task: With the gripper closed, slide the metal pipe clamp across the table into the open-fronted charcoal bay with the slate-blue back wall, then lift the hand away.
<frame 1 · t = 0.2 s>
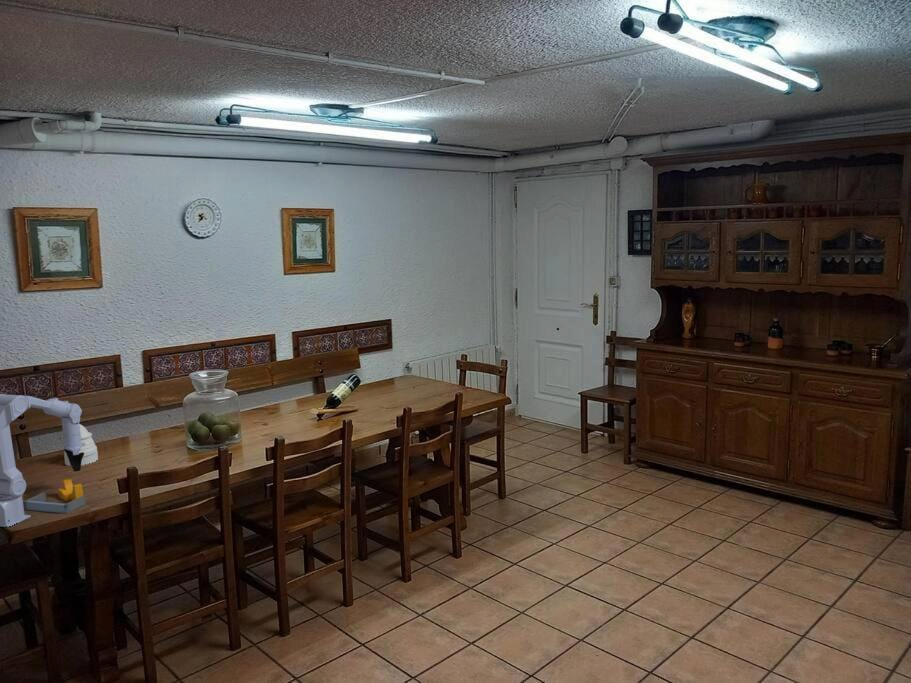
hand: (75, 468, 269), 9 cm above the table, fingers open, 7 cm apart
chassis: (56, 506, 256), on the table
honey pot: (81, 461, 306), on the table
pipe clamp: (71, 499, 263), on the table
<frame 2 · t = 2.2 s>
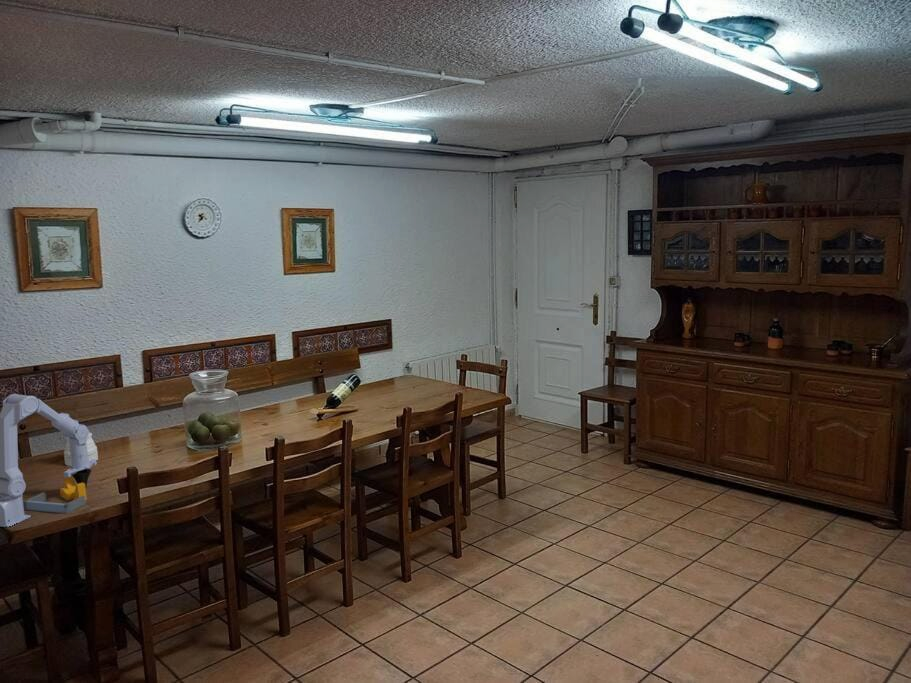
hand: (82, 488, 269), 2 cm above the table, fingers closed
pipe clamp: (73, 498, 263), on the table, touching gripper
everything else where it was.
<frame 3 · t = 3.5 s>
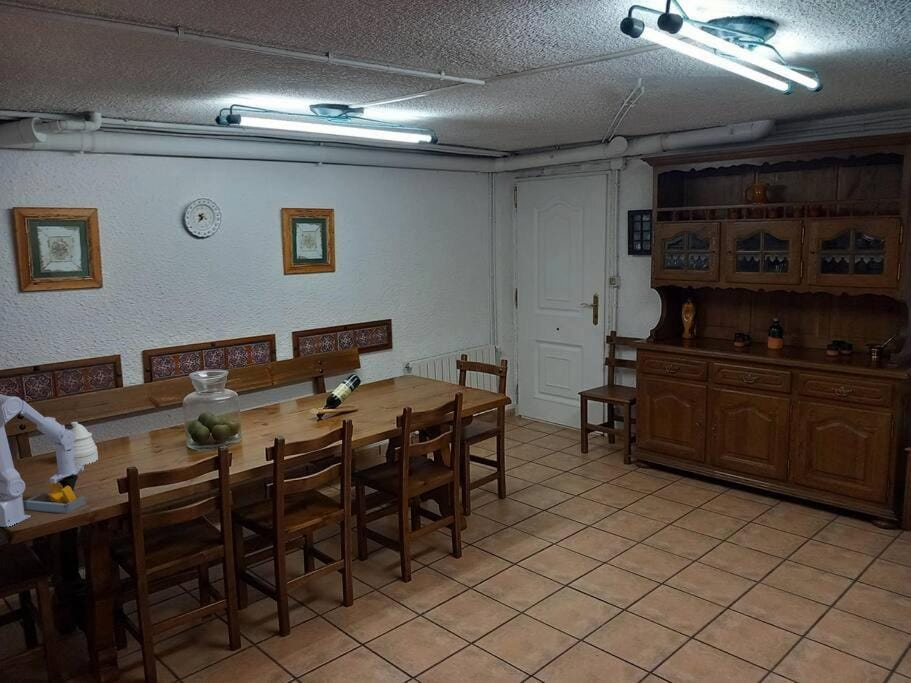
hand: (69, 495, 262), 2 cm above the table, fingers closed
pipe clamp: (64, 501, 259), point 1 cm above the table, touching gripper
everything else where it was.
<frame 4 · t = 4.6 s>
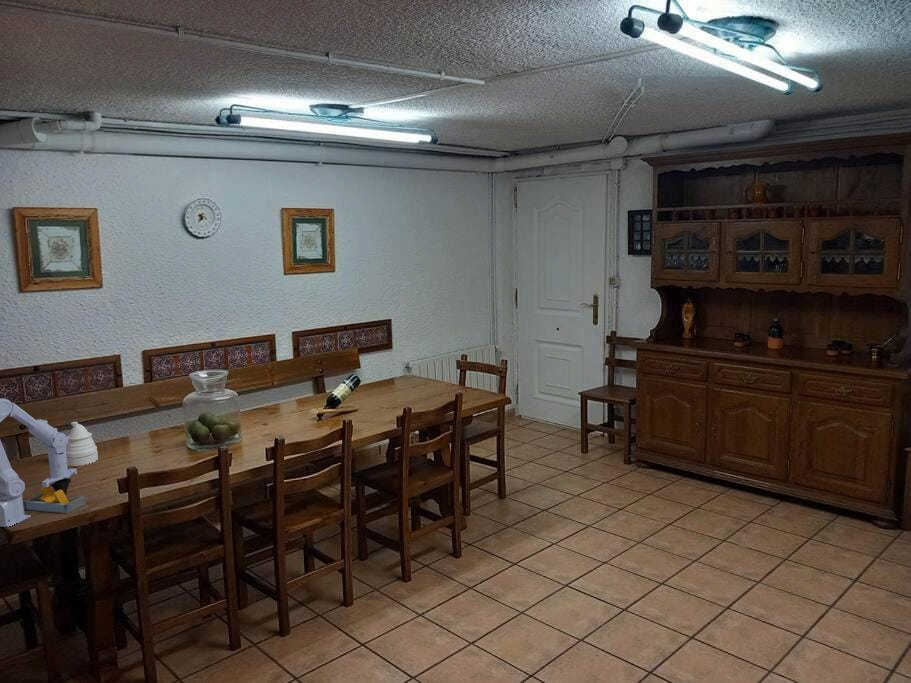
hand: (62, 498, 259), 2 cm above the table, fingers closed
pipe clamp: (57, 505, 256), point 1 cm above the table, touching gripper
everything else where it was.
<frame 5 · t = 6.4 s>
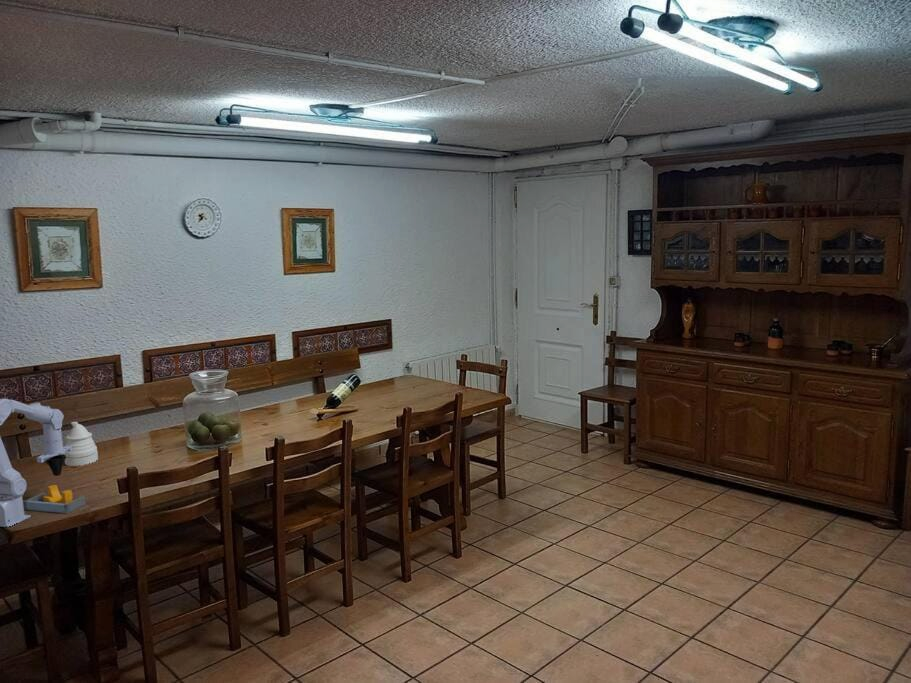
hand: (57, 475, 263), 9 cm above the table, fingers closed
pipe clamp: (59, 506, 256), on the table
everything else where it was.
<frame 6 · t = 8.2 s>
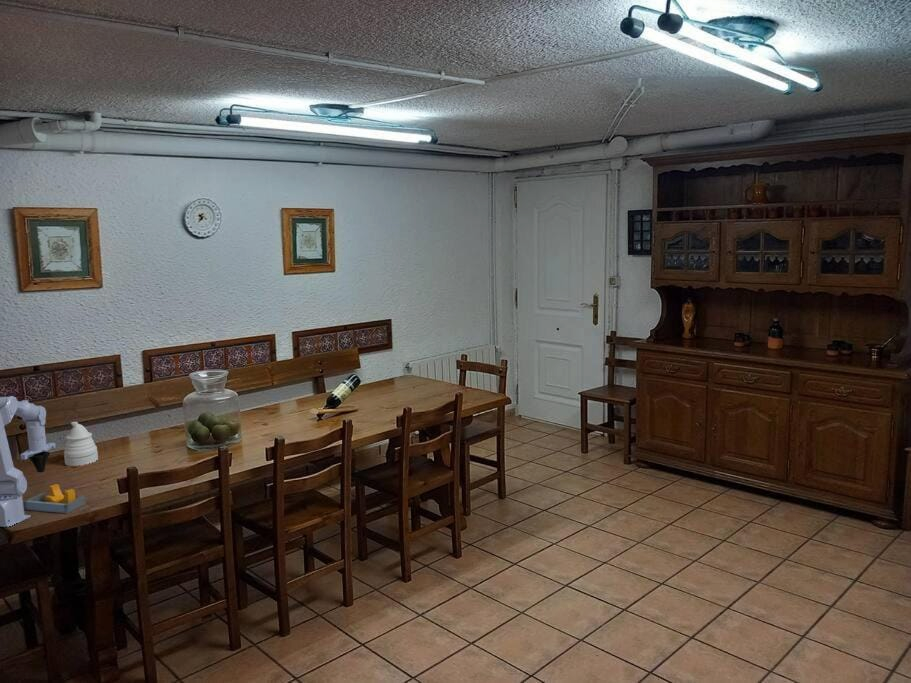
hand: (40, 471, 265), 9 cm above the table, fingers closed
nothing on the table moved.
at the end: pipe clamp inside the target area on the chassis (2.1 cm from its centre), point 0.0 cm above the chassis's base; pipe clamp tilted 0° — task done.
